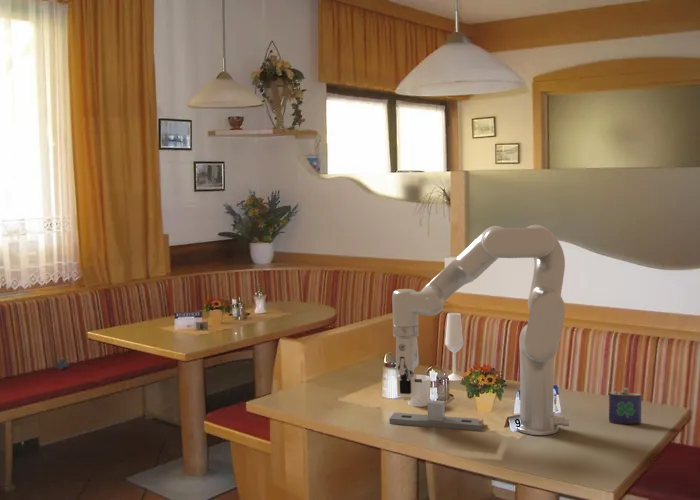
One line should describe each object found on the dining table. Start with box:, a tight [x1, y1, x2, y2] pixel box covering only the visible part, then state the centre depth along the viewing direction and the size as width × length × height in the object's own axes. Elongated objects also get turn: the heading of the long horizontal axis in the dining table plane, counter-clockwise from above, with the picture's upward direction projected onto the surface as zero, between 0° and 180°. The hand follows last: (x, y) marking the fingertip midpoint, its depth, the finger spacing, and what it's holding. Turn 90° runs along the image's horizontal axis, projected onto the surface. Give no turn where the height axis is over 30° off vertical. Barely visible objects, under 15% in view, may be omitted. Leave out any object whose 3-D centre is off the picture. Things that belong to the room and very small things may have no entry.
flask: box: [608, 387, 642, 425], centre depth 236 cm, size 9×3×11 cm, turn 78°
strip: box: [389, 412, 484, 432], centre depth 234 cm, size 27×6×4 cm, turn 73°
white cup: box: [407, 374, 432, 408], centre depth 254 cm, size 8×8×10 cm
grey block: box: [427, 399, 446, 421], centre depth 234 cm, size 4×4×6 cm
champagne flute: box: [444, 312, 464, 382], centre depth 289 cm, size 7×7×24 cm
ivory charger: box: [396, 373, 422, 401], centre depth 235 cm, size 7×4×8 cm, turn 73°
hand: (407, 390), depth 236 cm, fingers closed on ivory charger, 4 cm apart
